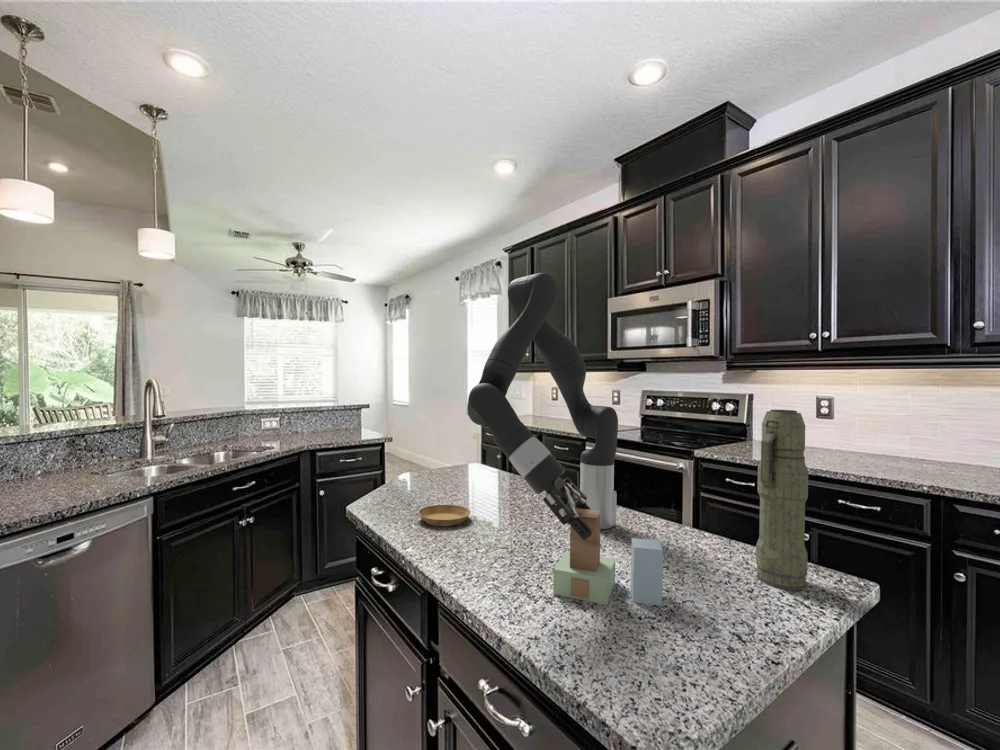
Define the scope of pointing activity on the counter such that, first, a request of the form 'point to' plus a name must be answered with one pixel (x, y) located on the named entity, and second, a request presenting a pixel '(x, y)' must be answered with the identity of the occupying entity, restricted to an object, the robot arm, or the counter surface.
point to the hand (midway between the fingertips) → (592, 529)
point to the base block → (584, 580)
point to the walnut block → (586, 542)
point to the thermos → (782, 501)
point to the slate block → (646, 571)
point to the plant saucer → (444, 515)
